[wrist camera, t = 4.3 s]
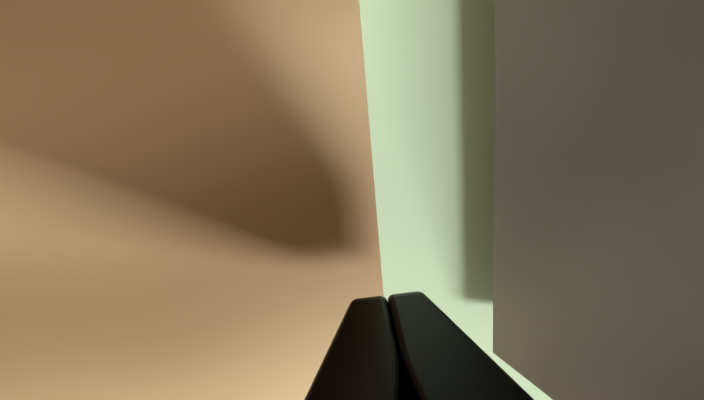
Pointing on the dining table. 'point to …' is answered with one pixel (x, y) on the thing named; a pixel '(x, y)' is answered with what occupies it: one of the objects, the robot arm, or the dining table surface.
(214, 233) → the deck
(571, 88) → the pale grey box
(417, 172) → the mat
